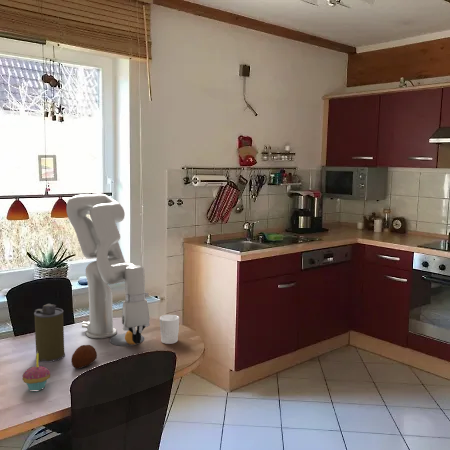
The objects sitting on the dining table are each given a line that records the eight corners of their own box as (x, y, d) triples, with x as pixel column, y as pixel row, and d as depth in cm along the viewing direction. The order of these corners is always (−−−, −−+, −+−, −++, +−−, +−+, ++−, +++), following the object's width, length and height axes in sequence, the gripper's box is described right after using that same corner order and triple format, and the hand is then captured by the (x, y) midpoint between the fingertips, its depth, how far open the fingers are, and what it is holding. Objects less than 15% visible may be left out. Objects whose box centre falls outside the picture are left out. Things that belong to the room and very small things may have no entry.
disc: (103, 344, 202) (103, 343, 202) (119, 332, 216) (119, 331, 216) (135, 347, 199) (135, 347, 199) (149, 335, 212) (149, 335, 212)
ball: (125, 341, 198) (119, 335, 203) (134, 349, 201) (128, 343, 206) (136, 330, 199) (130, 324, 204) (145, 338, 202) (139, 332, 207)
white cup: (180, 337, 210) (180, 314, 209) (177, 345, 202) (177, 321, 201) (162, 337, 211) (162, 314, 209) (157, 344, 203) (157, 320, 202)
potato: (102, 360, 186) (102, 340, 185) (86, 373, 175) (85, 352, 174) (84, 358, 188) (84, 338, 187) (66, 371, 177) (66, 349, 176)
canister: (70, 353, 193) (69, 302, 190) (53, 363, 183) (51, 310, 180) (47, 349, 197) (45, 299, 194) (28, 359, 187) (26, 307, 184)
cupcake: (27, 382, 168) (26, 348, 166) (53, 382, 169) (52, 347, 167) (19, 395, 160) (17, 359, 158) (47, 394, 160) (45, 358, 159)
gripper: (149, 292, 203) (150, 336, 206) (113, 297, 196) (115, 343, 198) (156, 296, 197) (158, 341, 199) (120, 302, 189) (121, 349, 192)
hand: (136, 342), depth 199 cm, fingers closed
